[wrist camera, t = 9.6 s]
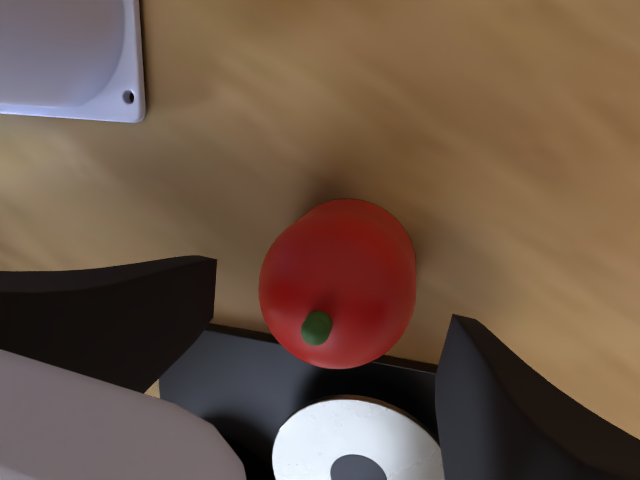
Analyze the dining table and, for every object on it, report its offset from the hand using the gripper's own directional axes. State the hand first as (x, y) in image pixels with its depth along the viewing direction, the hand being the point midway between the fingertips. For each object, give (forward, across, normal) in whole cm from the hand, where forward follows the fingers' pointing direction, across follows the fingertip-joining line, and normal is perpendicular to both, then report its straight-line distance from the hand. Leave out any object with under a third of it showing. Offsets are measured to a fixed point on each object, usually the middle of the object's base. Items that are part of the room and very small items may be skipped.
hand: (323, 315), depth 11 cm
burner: (+3, -2, +8) cm, 9 cm away
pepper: (+5, 0, 0) cm, 5 cm away
